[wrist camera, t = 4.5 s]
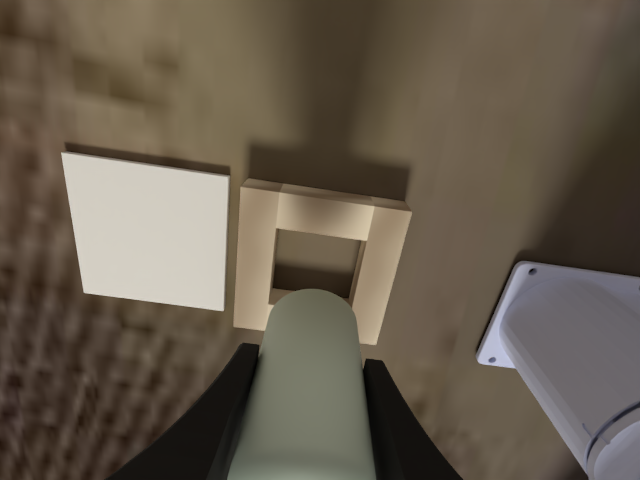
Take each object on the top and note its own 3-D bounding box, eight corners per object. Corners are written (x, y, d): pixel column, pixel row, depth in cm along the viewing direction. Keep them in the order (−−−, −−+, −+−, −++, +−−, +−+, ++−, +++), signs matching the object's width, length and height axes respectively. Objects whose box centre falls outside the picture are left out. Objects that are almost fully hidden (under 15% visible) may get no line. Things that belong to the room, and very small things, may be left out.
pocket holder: (405, 201, 20) (412, 211, 18) (372, 326, 23) (375, 344, 22) (248, 178, 19) (240, 186, 18) (240, 309, 23) (233, 326, 21)
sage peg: (365, 295, 15) (394, 457, 8) (348, 365, 16) (361, 547, 10) (271, 282, 14) (227, 438, 8) (264, 355, 16) (222, 532, 10)
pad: (230, 175, 19) (228, 177, 19) (225, 307, 23) (223, 310, 23) (66, 151, 19) (61, 152, 18) (87, 289, 23) (84, 292, 22)
